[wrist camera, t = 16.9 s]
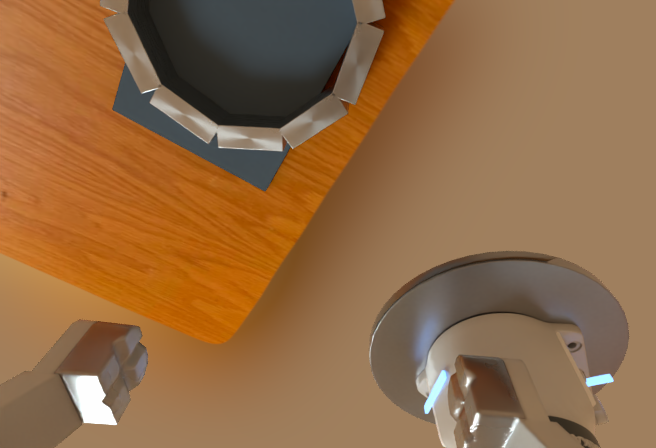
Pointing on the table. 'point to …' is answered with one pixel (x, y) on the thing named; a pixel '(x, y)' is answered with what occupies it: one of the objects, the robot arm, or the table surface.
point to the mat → (243, 67)
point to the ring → (210, 119)
